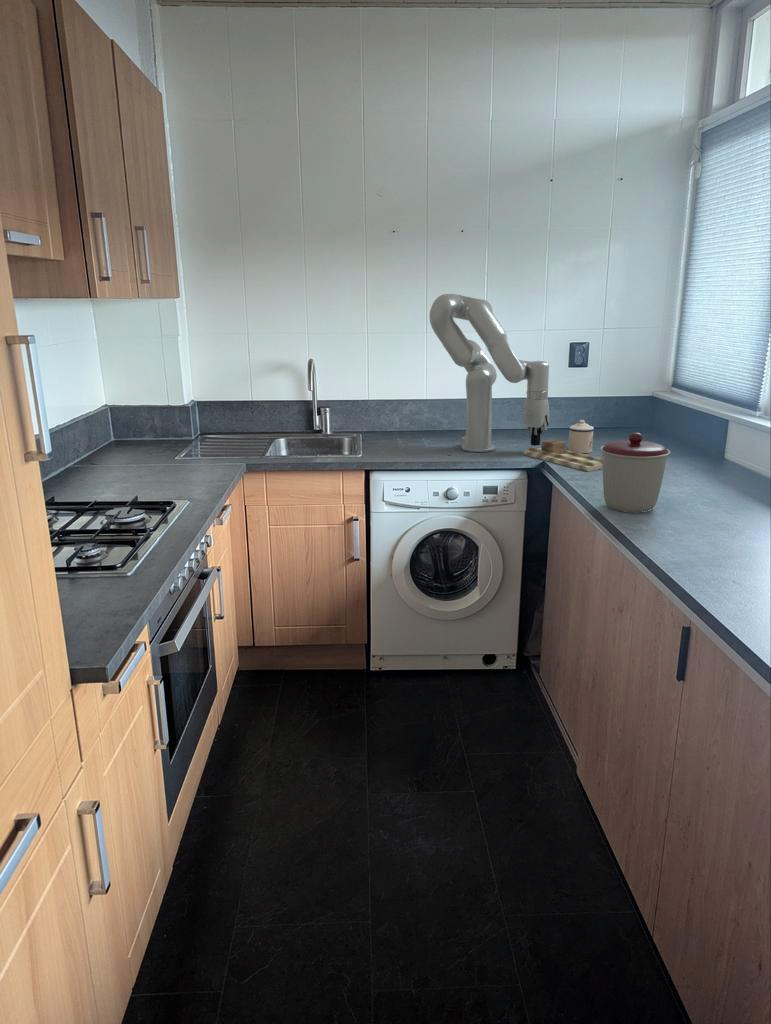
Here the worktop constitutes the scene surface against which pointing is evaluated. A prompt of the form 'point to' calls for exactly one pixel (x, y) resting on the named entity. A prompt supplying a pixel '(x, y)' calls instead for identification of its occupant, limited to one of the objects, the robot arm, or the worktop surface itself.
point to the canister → (632, 473)
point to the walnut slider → (554, 446)
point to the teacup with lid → (580, 438)
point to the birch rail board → (567, 459)
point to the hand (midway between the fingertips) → (535, 444)
